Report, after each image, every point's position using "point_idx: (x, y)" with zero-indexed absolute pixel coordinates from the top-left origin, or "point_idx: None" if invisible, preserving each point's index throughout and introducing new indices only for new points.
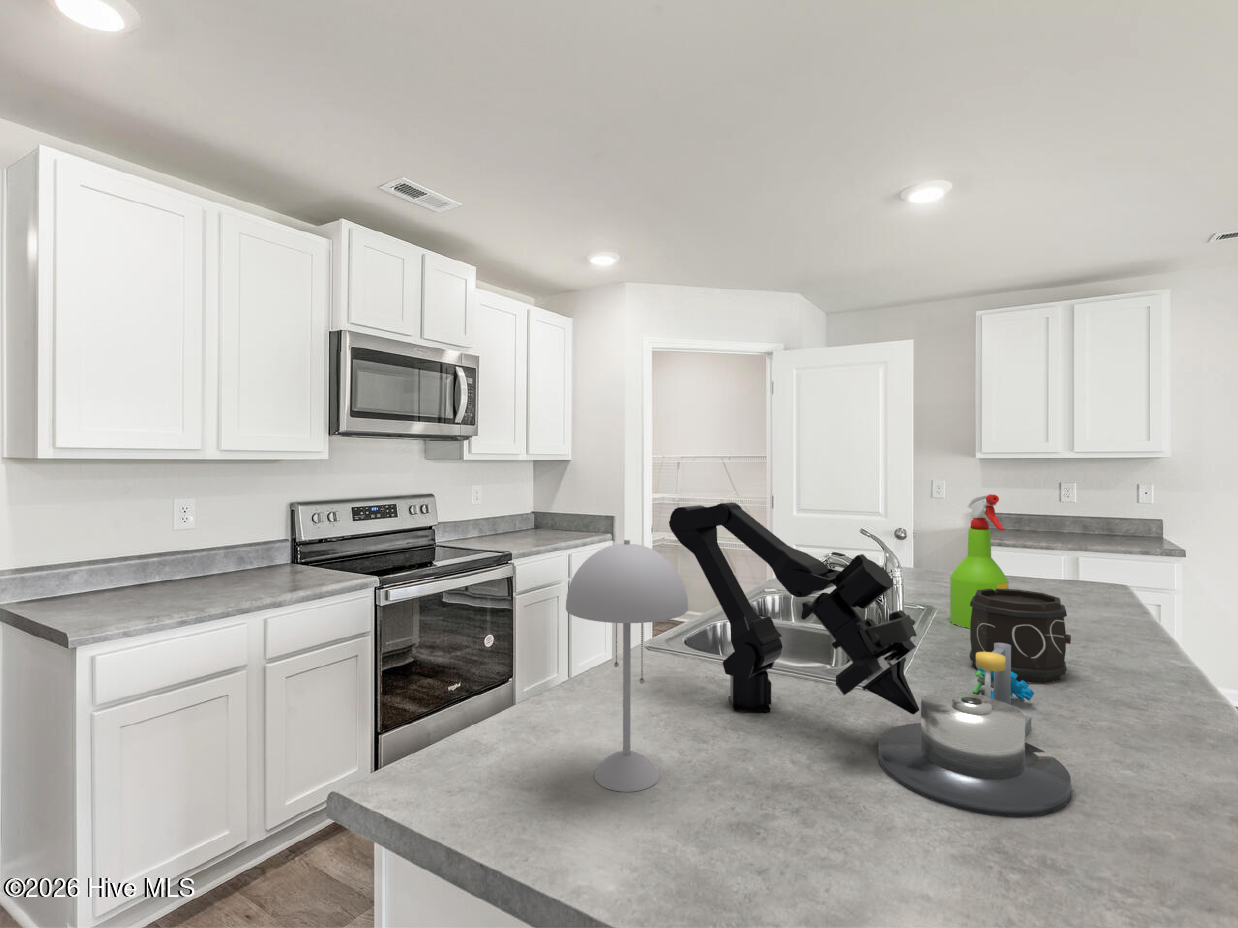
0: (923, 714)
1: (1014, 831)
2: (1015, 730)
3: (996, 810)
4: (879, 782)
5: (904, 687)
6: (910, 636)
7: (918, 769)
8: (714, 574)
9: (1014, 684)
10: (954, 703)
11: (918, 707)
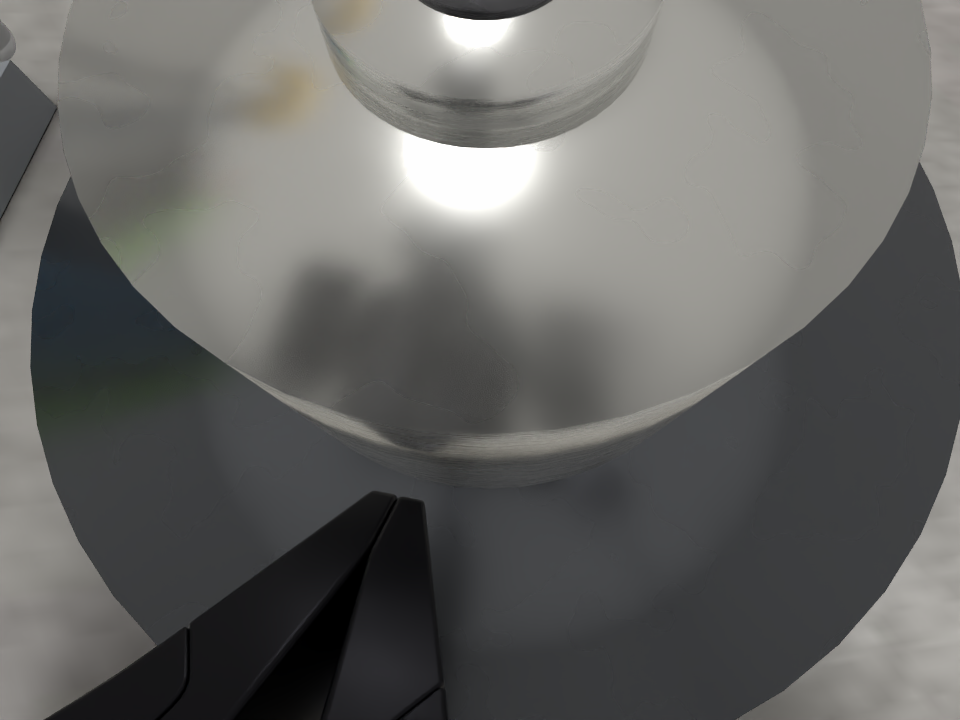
0: (679, 407)
1: (937, 118)
2: None
3: None
4: (914, 669)
5: (269, 689)
6: None
7: (831, 464)
8: None
9: None
10: (593, 83)
11: (370, 496)
